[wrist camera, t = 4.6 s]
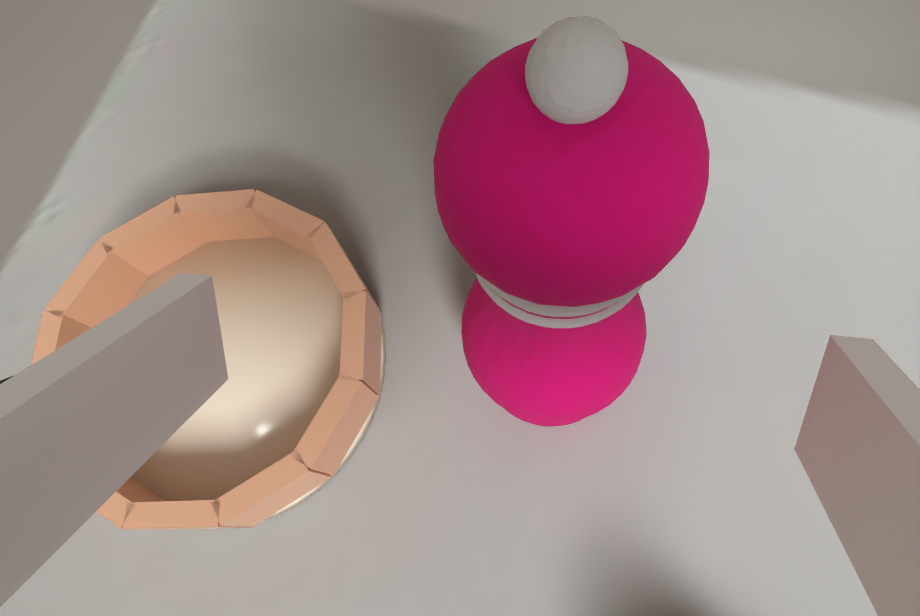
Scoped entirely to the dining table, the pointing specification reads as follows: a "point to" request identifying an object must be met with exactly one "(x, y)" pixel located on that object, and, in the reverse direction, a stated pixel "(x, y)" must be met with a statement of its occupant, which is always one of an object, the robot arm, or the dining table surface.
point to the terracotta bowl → (240, 355)
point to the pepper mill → (566, 212)
